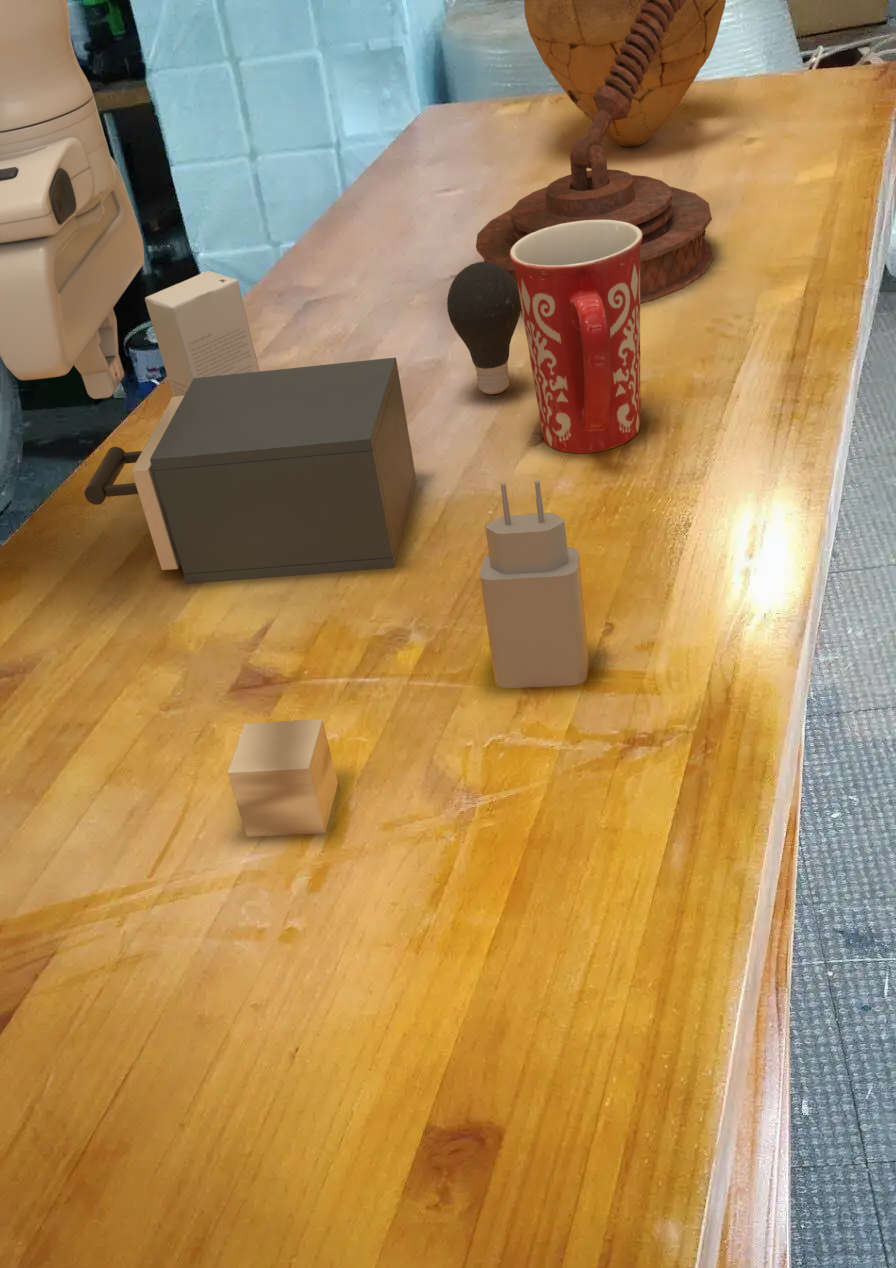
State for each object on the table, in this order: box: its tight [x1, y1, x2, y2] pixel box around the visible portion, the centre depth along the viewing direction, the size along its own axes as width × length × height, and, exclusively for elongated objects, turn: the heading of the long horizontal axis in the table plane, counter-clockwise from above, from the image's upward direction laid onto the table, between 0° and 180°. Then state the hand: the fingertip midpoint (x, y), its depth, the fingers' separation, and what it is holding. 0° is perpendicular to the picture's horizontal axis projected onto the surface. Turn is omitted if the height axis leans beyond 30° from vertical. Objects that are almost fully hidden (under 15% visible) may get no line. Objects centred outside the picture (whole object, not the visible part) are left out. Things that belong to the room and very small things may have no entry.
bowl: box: [523, 0, 727, 148], centre depth 151 cm, size 21×20×20 cm
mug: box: [510, 220, 643, 454], centre depth 103 cm, size 13×9×14 cm
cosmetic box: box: [144, 270, 261, 397], centre depth 113 cm, size 6×4×12 cm
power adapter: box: [479, 479, 590, 689], centre depth 82 cm, size 3×5×12 cm, turn 82°
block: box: [227, 718, 339, 838], centre depth 79 cm, size 4×4×4 cm
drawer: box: [84, 396, 184, 571], centre depth 101 cm, size 18×11×7 cm, turn 84°
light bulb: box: [446, 261, 522, 398], centre depth 112 cm, size 6×6×10 cm
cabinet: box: [150, 357, 417, 585], centre depth 101 cm, size 15×13×9 cm
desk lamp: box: [475, 0, 714, 312], centre depth 118 cm, size 21×32×40 cm, turn 132°
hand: (107, 389), depth 98 cm, fingers closed
